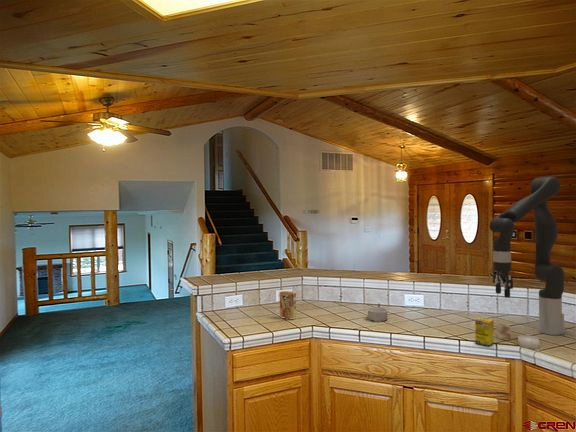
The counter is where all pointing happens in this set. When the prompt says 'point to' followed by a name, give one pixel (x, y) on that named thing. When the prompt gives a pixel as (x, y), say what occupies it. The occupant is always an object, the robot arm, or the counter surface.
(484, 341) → the supplement box
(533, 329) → the counter surface
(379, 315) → the saucepan
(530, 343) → the white rounded lump
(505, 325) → the beech block
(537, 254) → the robot arm
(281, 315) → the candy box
